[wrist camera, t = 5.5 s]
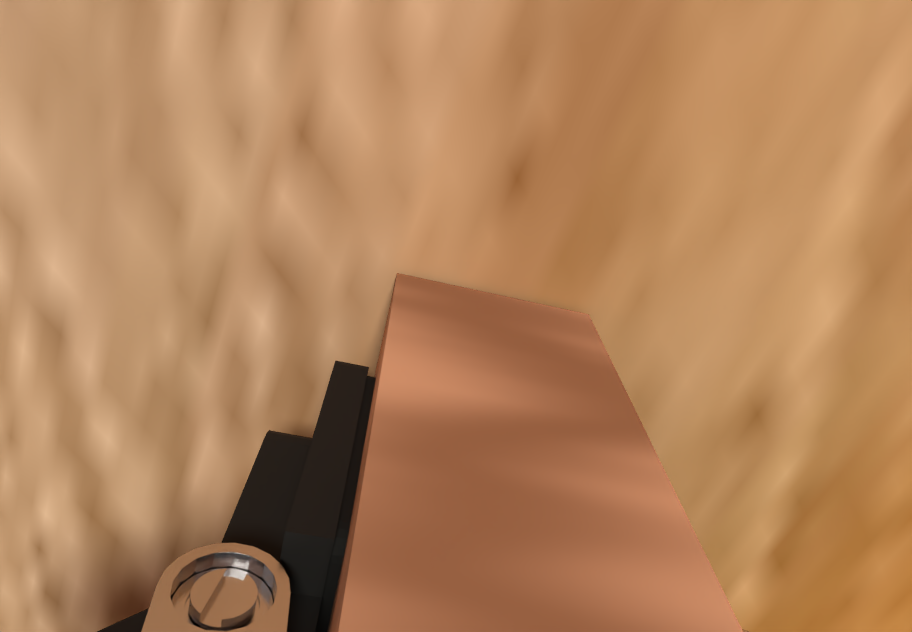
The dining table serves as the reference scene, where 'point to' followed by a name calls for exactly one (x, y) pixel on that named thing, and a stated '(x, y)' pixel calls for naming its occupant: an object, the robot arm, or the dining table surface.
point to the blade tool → (512, 483)
